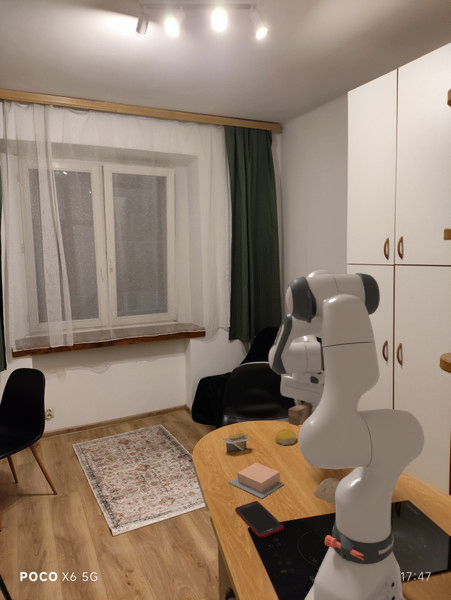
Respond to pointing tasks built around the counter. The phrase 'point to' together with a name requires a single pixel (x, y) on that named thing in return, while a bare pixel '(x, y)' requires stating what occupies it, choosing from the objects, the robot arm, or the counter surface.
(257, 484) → the tile
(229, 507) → the counter surface
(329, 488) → the clay tablet
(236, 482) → the mat
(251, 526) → the cell phone
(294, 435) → the bread roll
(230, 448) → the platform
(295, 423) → the bar
